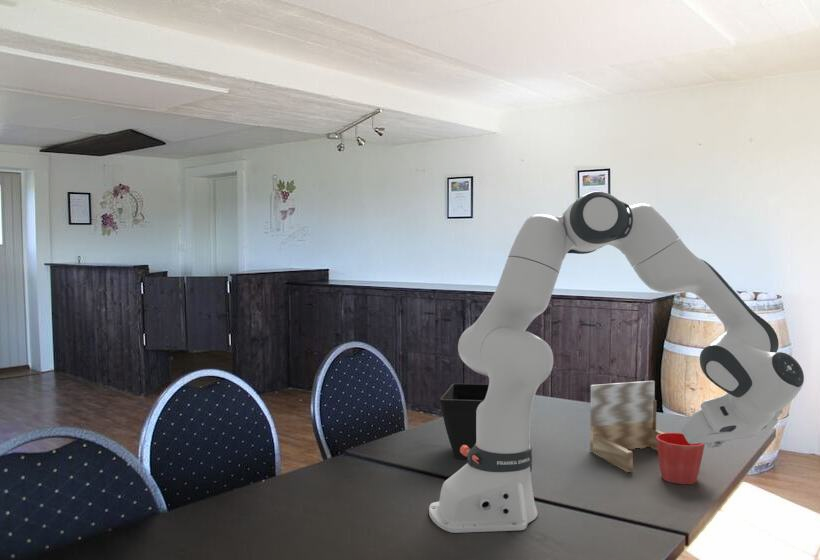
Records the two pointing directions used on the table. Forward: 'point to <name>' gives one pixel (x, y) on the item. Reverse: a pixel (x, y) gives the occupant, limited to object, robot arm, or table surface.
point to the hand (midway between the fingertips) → (712, 444)
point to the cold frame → (622, 421)
